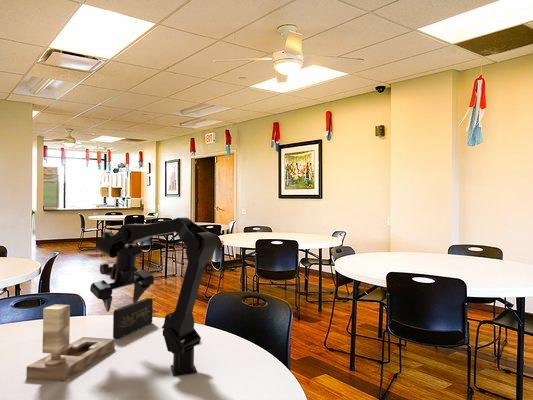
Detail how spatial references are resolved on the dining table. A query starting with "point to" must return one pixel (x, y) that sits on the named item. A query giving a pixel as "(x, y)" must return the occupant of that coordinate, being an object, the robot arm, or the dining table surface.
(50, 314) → the peg
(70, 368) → the keyhole board
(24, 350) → the dining table surface
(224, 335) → the dining table surface
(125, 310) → the nameplate
